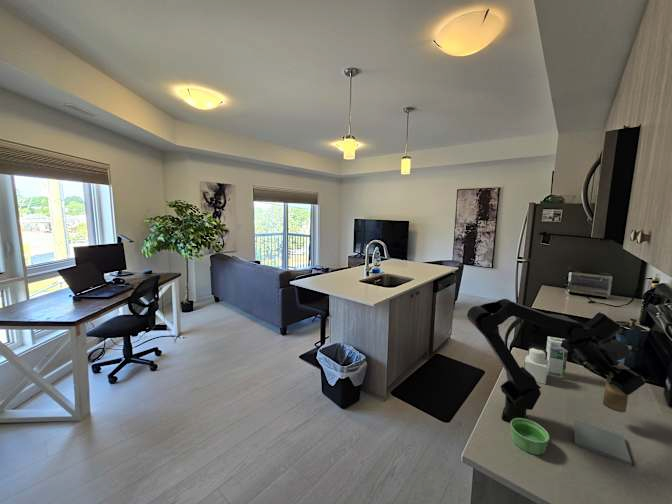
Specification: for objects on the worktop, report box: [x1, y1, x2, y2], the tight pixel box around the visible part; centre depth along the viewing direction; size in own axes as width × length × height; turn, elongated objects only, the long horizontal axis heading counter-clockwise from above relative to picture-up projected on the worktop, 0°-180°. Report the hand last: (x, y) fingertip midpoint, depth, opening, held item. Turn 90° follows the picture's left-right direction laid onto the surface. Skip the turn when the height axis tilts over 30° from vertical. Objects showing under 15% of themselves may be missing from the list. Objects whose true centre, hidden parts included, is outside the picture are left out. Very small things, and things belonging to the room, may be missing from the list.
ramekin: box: [509, 418, 550, 456], centre depth 78 cm, size 9×9×4 cm
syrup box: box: [545, 336, 569, 380], centre depth 113 cm, size 6×6×14 cm
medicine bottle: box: [523, 345, 548, 385], centre depth 110 cm, size 7×7×12 cm
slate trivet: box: [572, 418, 633, 467], centre depth 79 cm, size 11×11×1 cm
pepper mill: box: [602, 363, 631, 413], centre depth 85 cm, size 5×5×13 cm
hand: (622, 386), depth 85 cm, fingers closed on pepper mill, 5 cm apart
